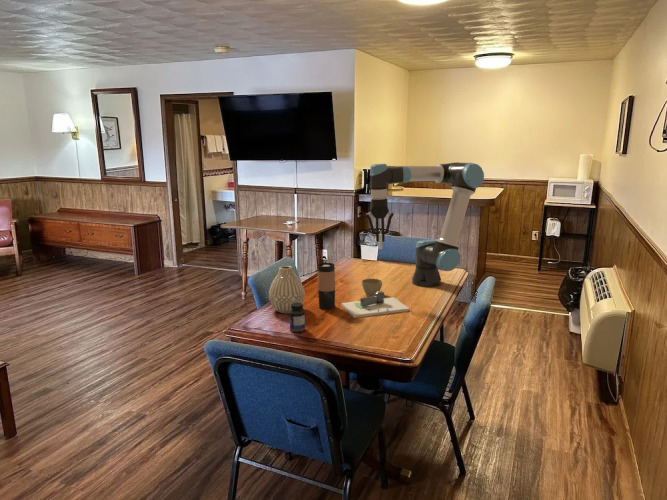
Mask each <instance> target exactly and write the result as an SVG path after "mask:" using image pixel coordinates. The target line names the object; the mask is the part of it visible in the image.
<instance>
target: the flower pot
mask: <svg viewBox="0 0 667 500" xmlns="http://www.w3.org/2000/svg"><path fill="white" fill-rule="evenodd" d="M361 285H362V288H363V290H364V291H363V292H364V293H365V295H366V297H369V296H373V295H374V293H375V292H377V291H381V288H382V285H383V280H382V279H378V278H364V279H362V280H361Z"/></svg>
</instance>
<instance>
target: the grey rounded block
mask: <svg viewBox="0 0 667 500" xmlns="http://www.w3.org/2000/svg"><path fill="white" fill-rule="evenodd" d="M384 298H385V292H384V291H382V290H380V291H377V292H375V293H374V295H373V296H364V297H361V298H360V299H359V301H361V306H362V307H364V306H368V305H372V304H376V303H378V304H381V303H384Z"/></svg>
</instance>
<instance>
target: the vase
mask: <svg viewBox="0 0 667 500" xmlns="http://www.w3.org/2000/svg"><path fill="white" fill-rule="evenodd" d="M304 288H305V287H304V286H303V283H302V281H301V280H300V279H299V277H298V276H297V275H296V273H295V272H294V269H293V267H292V266H291V265H282V266H280V267H279V269H278V273H277V274H276V276H275V277H274V279H273V280H272V282H271V284H270V287H269V291H268V300H269V302H270V305H271V307H272V308H273V309H274V310H275V311H277V312H278V313H281V314H290V313H289V312H290V310H291V309H292V308H291V304H292V303H296V302H298V303H302V304H303V305H304V301H305V296H306V295H305V289H304Z"/></svg>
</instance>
